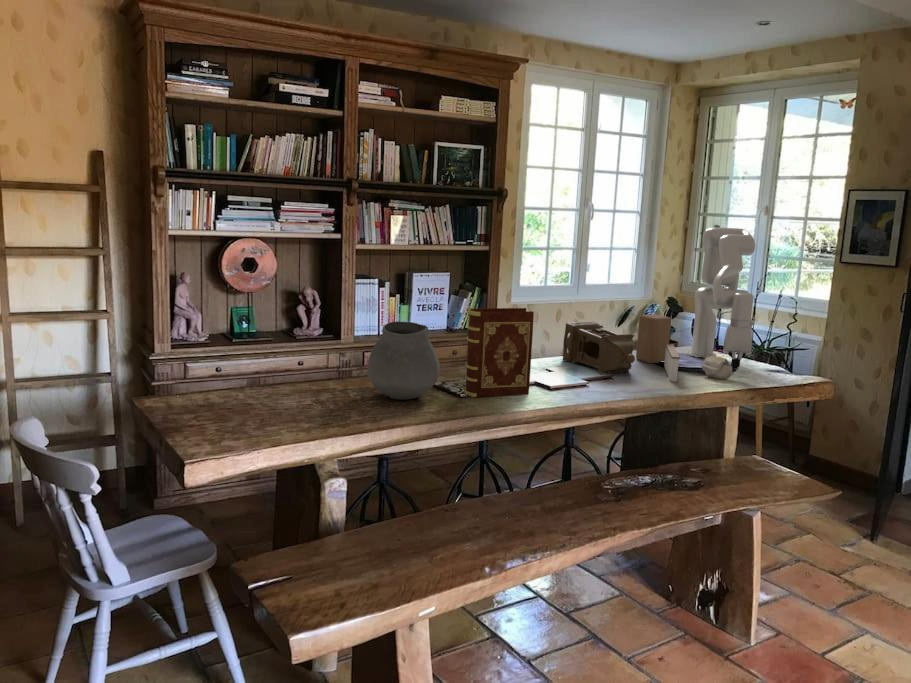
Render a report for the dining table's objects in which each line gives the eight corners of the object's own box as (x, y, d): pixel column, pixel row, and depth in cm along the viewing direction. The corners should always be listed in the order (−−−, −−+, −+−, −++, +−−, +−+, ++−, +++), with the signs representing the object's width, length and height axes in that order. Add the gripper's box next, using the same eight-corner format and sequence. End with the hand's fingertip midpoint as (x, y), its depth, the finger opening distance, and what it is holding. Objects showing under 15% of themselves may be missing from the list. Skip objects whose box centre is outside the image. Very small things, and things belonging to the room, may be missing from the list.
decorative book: (468, 397, 255) (472, 311, 249) (461, 391, 262) (465, 308, 256) (529, 395, 261) (534, 311, 255) (521, 389, 268) (525, 307, 262)
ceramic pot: (357, 403, 243) (358, 328, 238) (378, 385, 266) (379, 316, 261) (430, 410, 238) (432, 334, 233) (444, 391, 262) (447, 321, 257)
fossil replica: (730, 382, 292) (731, 379, 301) (734, 362, 291) (735, 359, 300) (699, 376, 296) (701, 373, 306) (703, 355, 295) (705, 353, 304)
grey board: (663, 366, 316) (665, 343, 314) (670, 366, 315) (673, 344, 313) (669, 380, 290) (671, 356, 288) (677, 381, 289) (679, 357, 287)
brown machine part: (645, 383, 295) (654, 338, 293) (611, 381, 287) (621, 335, 284) (590, 362, 325) (598, 321, 323) (558, 360, 317) (566, 317, 314)
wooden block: (634, 359, 327) (638, 314, 323) (652, 357, 331) (657, 313, 327) (649, 364, 318) (653, 318, 314) (667, 362, 322) (672, 317, 318)
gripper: (757, 323, 296) (752, 368, 300) (719, 320, 298) (714, 365, 302) (762, 326, 289) (756, 372, 292) (722, 323, 291) (717, 369, 295)
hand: (735, 368), depth 297 cm, fingers closed
